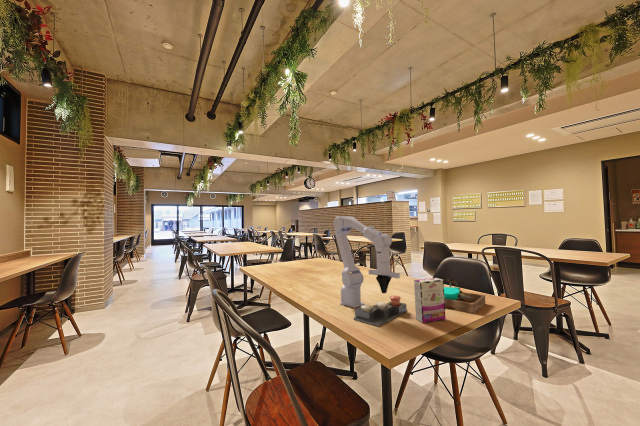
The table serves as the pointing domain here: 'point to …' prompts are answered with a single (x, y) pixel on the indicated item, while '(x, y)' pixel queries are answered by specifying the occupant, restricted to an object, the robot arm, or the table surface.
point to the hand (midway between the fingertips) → (384, 292)
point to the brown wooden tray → (466, 306)
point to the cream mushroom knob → (366, 308)
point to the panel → (379, 314)
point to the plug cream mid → (381, 305)
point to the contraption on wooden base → (454, 294)
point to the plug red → (395, 300)
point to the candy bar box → (429, 300)
